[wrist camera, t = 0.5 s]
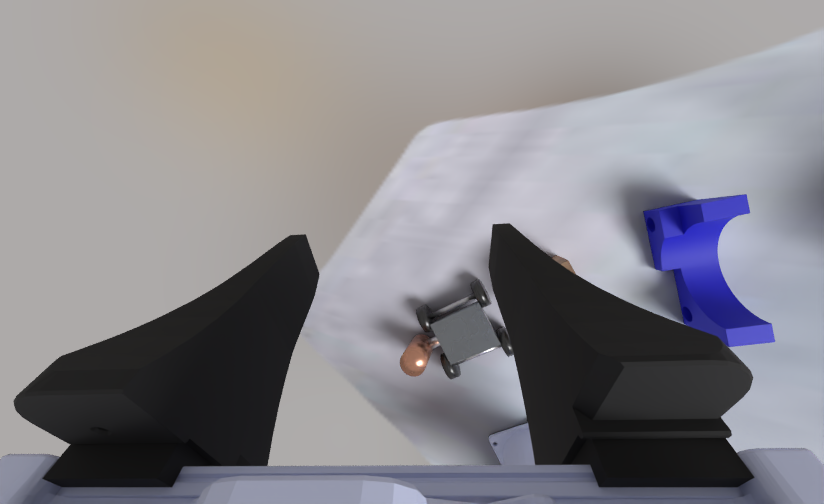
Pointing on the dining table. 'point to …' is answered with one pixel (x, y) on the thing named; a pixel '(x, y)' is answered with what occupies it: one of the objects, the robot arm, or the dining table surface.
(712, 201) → the cable clip
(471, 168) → the dining table surface
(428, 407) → the dining table surface
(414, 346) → the pin
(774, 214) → the dining table surface
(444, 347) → the dolly
